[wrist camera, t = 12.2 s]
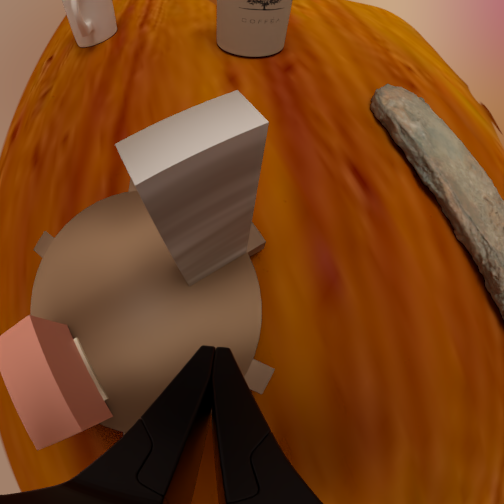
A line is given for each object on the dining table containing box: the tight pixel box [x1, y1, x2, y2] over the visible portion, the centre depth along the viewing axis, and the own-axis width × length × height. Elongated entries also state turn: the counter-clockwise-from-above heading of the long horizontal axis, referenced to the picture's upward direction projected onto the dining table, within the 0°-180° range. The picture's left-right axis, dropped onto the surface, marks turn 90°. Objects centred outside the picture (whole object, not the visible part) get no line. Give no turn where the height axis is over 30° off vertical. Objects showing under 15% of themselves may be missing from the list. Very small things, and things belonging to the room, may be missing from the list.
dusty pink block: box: [0, 315, 113, 450], centre depth 12 cm, size 4×6×4 cm, turn 33°
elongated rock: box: [371, 84, 504, 319], centre depth 21 cm, size 35×5×10 cm
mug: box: [62, 0, 117, 47], centre depth 23 cm, size 10×7×12 cm, turn 12°
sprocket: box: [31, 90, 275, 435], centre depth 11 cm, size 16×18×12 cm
